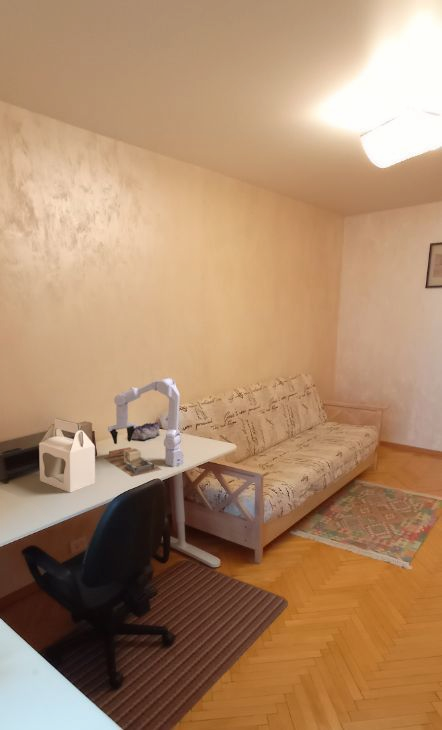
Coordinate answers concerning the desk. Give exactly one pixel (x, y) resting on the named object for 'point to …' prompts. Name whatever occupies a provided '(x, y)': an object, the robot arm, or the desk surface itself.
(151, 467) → the lane board
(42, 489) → the desk surface
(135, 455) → the block
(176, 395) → the robot arm
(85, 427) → the decorative block
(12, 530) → the desk surface
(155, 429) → the geode
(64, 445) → the gable box
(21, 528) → the desk surface
